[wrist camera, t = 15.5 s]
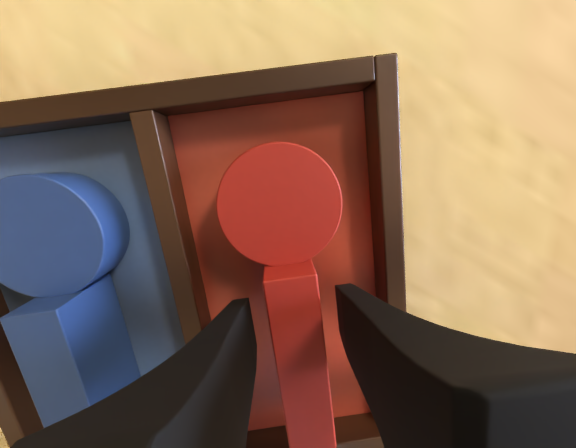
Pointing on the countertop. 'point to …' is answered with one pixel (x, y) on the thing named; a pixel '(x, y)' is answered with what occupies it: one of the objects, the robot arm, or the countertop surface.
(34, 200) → the blue spoon
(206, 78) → the sorting tray
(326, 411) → the red spoon
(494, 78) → the countertop surface
